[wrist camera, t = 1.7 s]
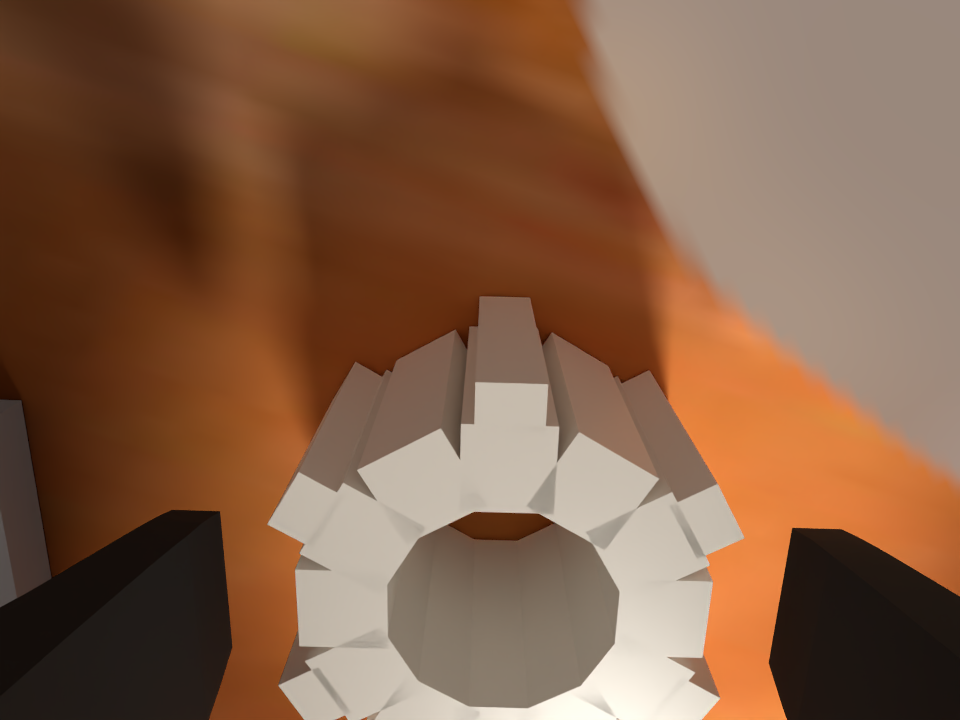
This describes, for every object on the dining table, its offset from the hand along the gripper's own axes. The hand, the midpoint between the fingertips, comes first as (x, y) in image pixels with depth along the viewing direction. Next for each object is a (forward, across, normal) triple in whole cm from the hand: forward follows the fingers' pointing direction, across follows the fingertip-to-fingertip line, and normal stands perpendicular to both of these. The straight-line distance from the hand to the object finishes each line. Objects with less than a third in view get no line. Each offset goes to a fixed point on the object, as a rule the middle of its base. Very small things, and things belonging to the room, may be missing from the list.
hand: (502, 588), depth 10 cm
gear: (+4, 0, 0) cm, 4 cm away
